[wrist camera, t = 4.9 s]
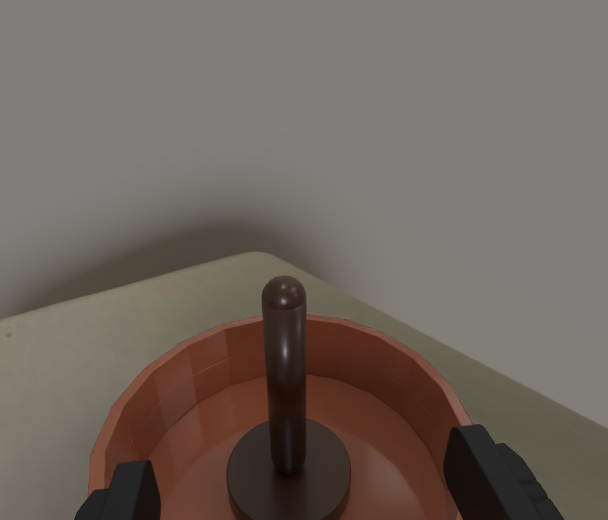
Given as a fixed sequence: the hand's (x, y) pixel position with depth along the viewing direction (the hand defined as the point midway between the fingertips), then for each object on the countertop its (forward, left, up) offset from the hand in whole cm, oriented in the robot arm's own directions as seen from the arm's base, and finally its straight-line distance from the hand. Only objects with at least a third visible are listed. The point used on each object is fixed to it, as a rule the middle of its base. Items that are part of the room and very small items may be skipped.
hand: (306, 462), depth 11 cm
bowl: (-2, -7, -11) cm, 13 cm away
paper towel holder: (-2, -7, -10) cm, 12 cm away
